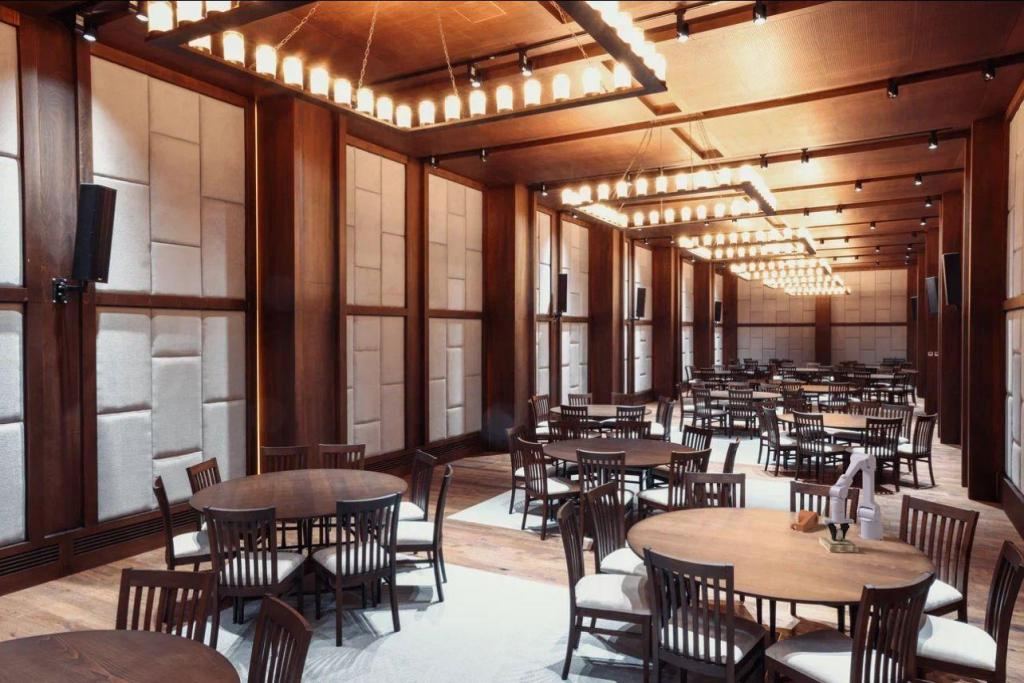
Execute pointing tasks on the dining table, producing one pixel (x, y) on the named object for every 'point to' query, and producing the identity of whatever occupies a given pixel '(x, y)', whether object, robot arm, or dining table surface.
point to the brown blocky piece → (806, 520)
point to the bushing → (839, 535)
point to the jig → (838, 545)
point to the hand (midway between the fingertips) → (838, 538)
